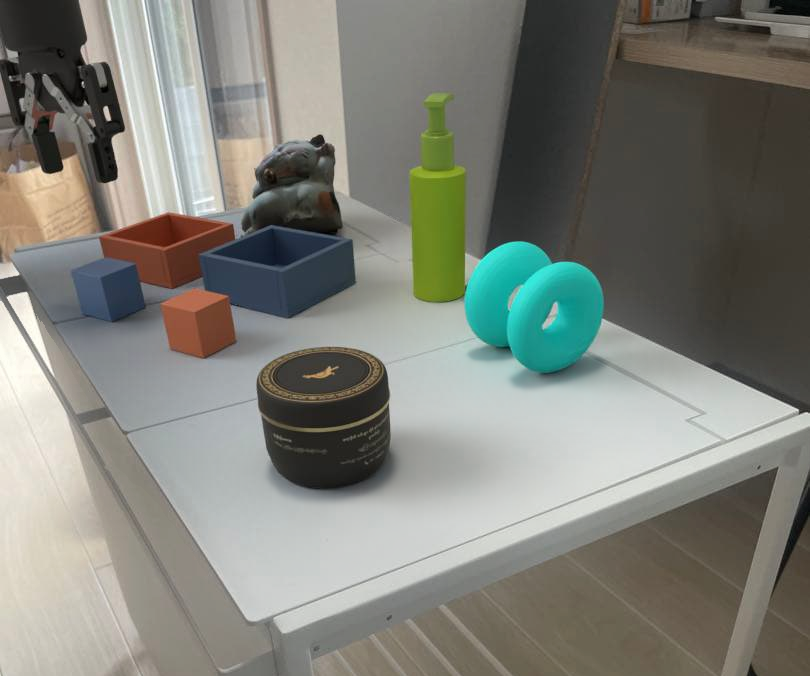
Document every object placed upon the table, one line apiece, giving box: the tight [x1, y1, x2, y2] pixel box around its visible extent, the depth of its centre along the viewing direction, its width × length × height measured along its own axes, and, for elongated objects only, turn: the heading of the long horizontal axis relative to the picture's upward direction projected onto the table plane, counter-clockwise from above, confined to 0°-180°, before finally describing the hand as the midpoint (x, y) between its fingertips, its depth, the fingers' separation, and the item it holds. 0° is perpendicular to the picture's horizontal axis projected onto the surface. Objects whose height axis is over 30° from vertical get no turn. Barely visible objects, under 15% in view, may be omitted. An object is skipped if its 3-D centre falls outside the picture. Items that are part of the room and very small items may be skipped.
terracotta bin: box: [98, 211, 237, 289], centre depth 105 cm, size 12×12×5 cm
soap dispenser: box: [409, 93, 467, 303], centre depth 90 cm, size 6×7×20 cm
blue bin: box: [199, 225, 357, 319], centre depth 97 cm, size 12×12×5 cm
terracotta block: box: [160, 287, 237, 359], centre depth 85 cm, size 5×5×5 cm
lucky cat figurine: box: [240, 133, 344, 238], centre depth 112 cm, size 15×12×14 cm
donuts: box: [464, 241, 605, 374], centre depth 78 cm, size 10×10×10 cm
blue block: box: [70, 257, 147, 323], centre depth 93 cm, size 5×5×5 cm
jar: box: [255, 346, 392, 489], centre depth 65 cm, size 10×10×8 cm
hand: (80, 176), depth 86 cm, fingers open, 8 cm apart
